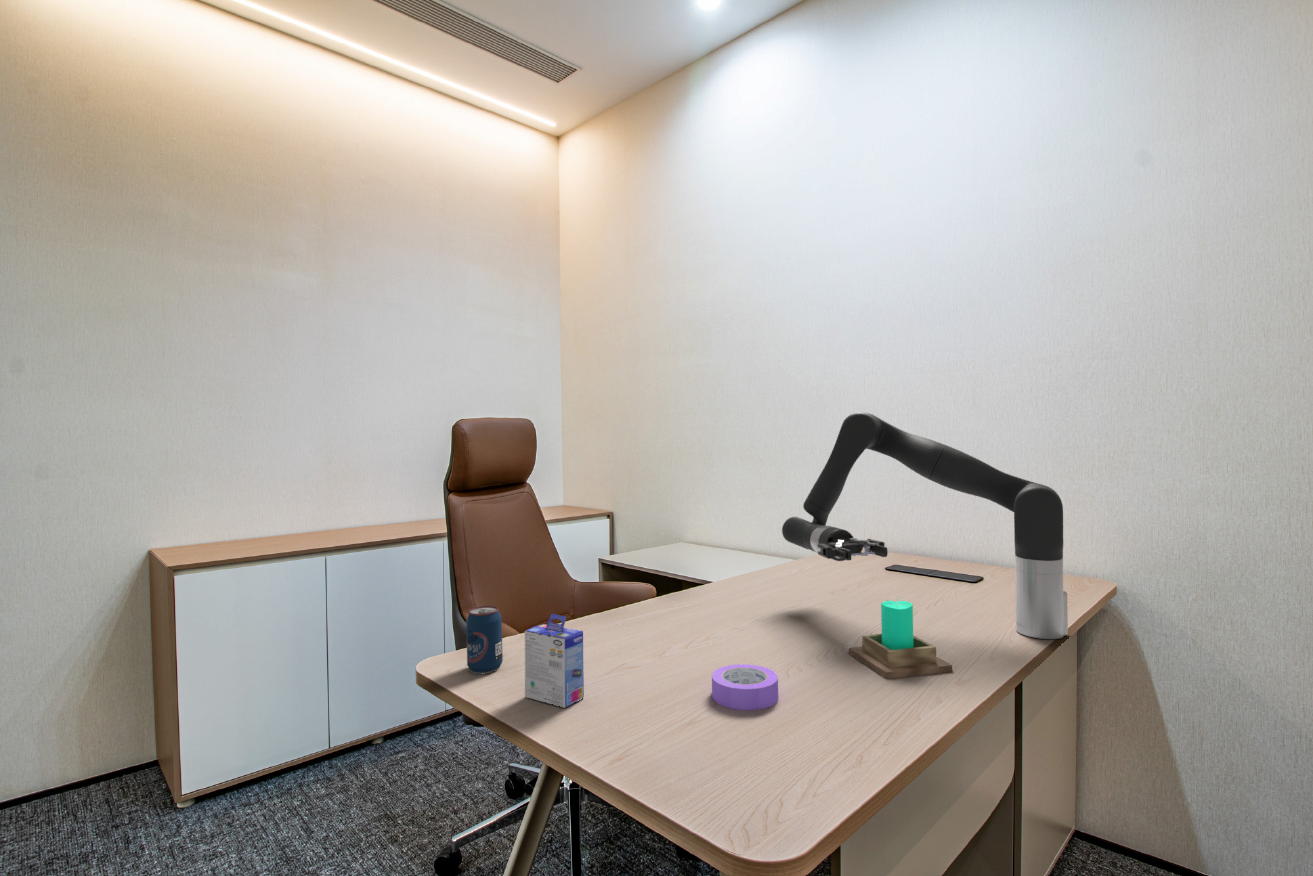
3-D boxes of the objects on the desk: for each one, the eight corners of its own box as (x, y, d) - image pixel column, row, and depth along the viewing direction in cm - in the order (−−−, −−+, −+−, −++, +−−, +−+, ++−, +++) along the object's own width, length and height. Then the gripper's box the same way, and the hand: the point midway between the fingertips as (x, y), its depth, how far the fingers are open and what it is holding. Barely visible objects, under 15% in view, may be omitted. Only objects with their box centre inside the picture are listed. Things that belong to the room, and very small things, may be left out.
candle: (918, 654, 127) (917, 595, 127) (907, 663, 123) (906, 601, 123) (888, 648, 131) (887, 590, 131) (877, 656, 127) (876, 596, 127)
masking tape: (711, 683, 119) (710, 663, 119) (774, 683, 118) (773, 663, 118) (713, 711, 107) (712, 689, 107) (782, 711, 107) (782, 689, 107)
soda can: (460, 672, 127) (458, 612, 126) (481, 660, 133) (480, 603, 133) (488, 677, 124) (487, 616, 124) (509, 664, 130) (508, 606, 130)
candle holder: (908, 647, 135) (908, 627, 135) (952, 671, 122) (951, 649, 122) (848, 653, 132) (848, 633, 132) (886, 678, 119) (886, 656, 119)
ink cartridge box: (586, 698, 113) (584, 617, 113) (566, 710, 109) (564, 625, 108) (544, 687, 119) (542, 610, 118) (523, 698, 114) (521, 617, 114)
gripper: (803, 529, 152) (837, 539, 136) (857, 524, 155) (896, 534, 139) (805, 560, 152) (838, 574, 136) (859, 555, 155) (898, 568, 139)
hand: (867, 554), depth 138 cm, fingers open, 8 cm apart
